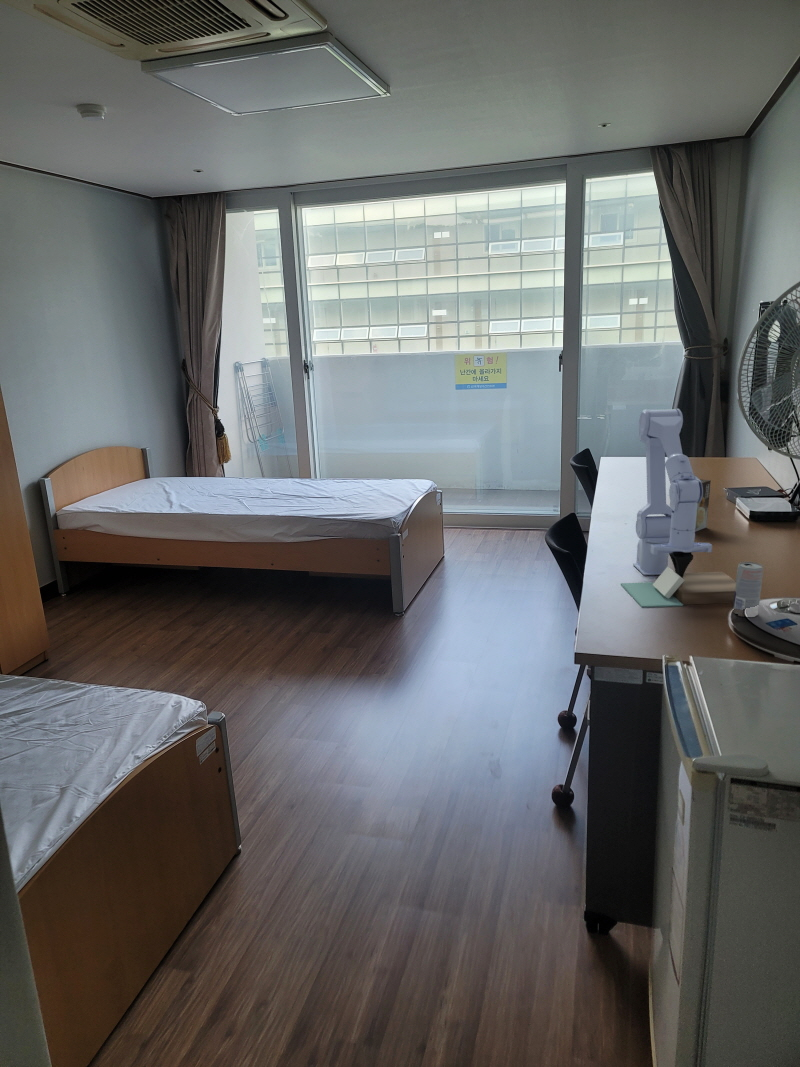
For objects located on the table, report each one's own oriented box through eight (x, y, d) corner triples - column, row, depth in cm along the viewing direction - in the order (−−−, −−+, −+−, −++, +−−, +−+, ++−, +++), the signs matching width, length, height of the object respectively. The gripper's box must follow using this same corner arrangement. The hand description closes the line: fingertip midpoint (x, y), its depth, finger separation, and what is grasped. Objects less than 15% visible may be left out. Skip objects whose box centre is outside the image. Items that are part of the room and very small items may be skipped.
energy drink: (750, 609, 172) (756, 561, 169) (762, 617, 167) (768, 568, 163) (728, 609, 172) (733, 562, 168) (739, 618, 167) (744, 569, 163)
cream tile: (656, 587, 186) (652, 584, 186) (672, 569, 185) (667, 566, 185) (668, 599, 178) (664, 595, 178) (684, 580, 177) (680, 576, 177)
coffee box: (689, 524, 244) (693, 477, 239) (707, 527, 239) (711, 480, 235) (674, 529, 238) (678, 481, 234) (692, 533, 234) (696, 484, 229)
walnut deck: (660, 584, 189) (661, 573, 188) (721, 582, 189) (722, 571, 189) (682, 604, 176) (683, 592, 175) (747, 602, 176) (748, 590, 175)
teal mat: (620, 584, 190) (620, 583, 190) (658, 583, 190) (658, 582, 190) (641, 607, 175) (641, 605, 175) (682, 606, 175) (682, 604, 175)
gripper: (659, 533, 174) (655, 586, 177) (719, 531, 174) (714, 584, 178) (649, 525, 181) (645, 577, 184) (706, 523, 181) (702, 575, 185)
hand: (678, 580), depth 181 cm, fingers closed, pressing on cream tile
